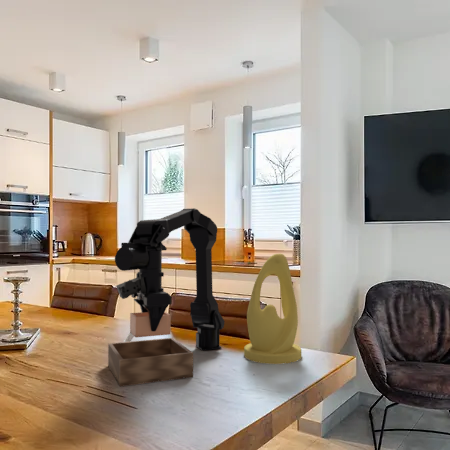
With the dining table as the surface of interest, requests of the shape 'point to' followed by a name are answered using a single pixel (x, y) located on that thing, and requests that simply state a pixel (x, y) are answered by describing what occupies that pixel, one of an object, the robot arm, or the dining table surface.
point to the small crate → (148, 325)
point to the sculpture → (273, 319)
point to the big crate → (149, 361)
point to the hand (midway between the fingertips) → (150, 328)
